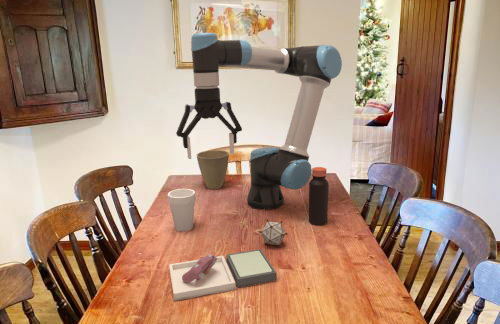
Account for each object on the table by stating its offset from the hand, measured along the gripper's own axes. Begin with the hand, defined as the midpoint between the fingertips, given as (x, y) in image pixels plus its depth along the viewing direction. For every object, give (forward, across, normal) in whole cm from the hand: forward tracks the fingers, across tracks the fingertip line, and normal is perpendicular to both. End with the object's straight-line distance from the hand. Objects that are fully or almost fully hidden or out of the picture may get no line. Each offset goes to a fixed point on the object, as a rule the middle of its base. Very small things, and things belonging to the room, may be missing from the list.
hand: (211, 155), depth 118 cm
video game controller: (+28, +9, +23) cm, 37 cm away
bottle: (+29, -38, 0) cm, 47 cm away
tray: (+28, +9, +23) cm, 38 cm away
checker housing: (+28, -5, +24) cm, 37 cm away
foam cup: (+28, +9, -12) cm, 32 cm away
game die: (+29, -16, +11) cm, 35 cm away
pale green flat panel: (+27, -5, +24) cm, 36 cm away
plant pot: (+29, -10, -52) cm, 61 cm away
